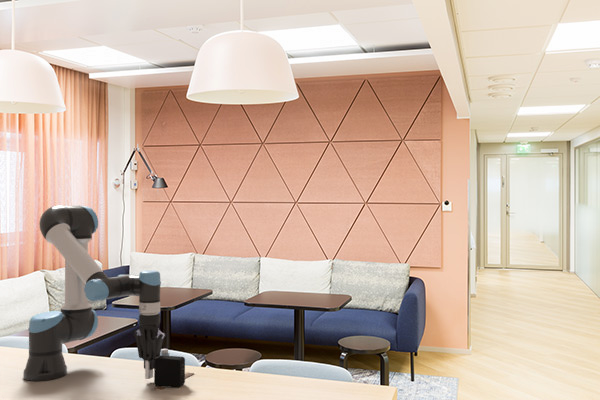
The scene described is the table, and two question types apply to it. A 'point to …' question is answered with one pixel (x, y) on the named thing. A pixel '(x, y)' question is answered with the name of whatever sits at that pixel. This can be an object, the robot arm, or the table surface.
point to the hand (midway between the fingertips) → (149, 377)
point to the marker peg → (164, 352)
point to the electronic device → (169, 371)
